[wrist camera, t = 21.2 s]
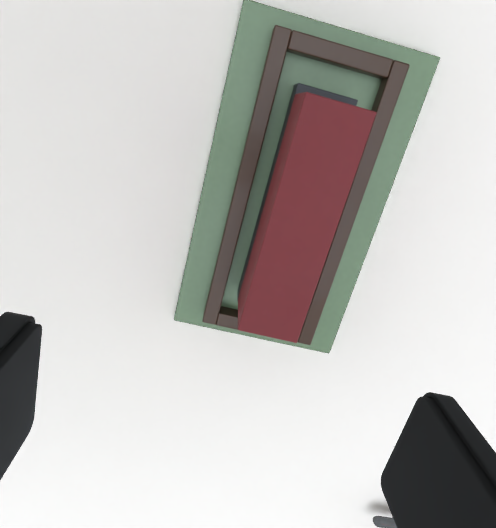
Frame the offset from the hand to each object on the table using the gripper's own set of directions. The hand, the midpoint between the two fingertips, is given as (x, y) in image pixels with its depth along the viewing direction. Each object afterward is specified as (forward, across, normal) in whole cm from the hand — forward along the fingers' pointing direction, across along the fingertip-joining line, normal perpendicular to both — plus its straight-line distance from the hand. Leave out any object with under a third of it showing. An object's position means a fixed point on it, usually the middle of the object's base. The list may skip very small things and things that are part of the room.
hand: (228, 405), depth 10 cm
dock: (+19, -4, -2) cm, 20 cm away
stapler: (+19, -4, -2) cm, 19 cm away
